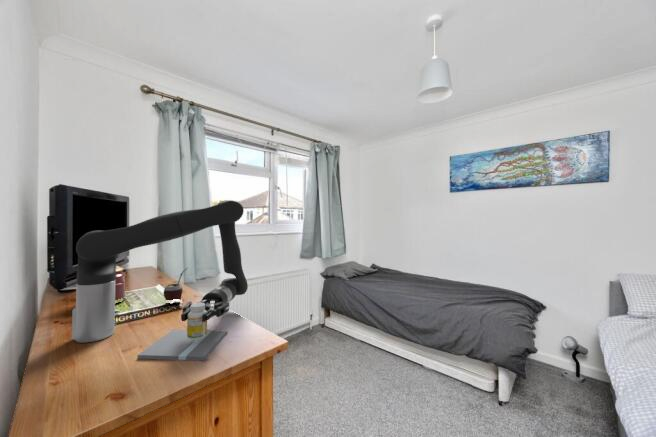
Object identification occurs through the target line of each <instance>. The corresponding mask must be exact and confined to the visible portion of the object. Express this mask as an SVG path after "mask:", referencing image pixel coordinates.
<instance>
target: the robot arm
mask: <svg viewBox="0 0 656 437" xmlns="http://www.w3.org/2000/svg"><path fill="white" fill-rule="evenodd" d="M244 211H245V210H244V207H243V204H241V203H240V202H239V201H237V200H234V199H226V200H225V199H224V200H222V201H219V202H218V204H213V205H212V206H208V207H204V208H197V209H196V208H195V209H188V210H181V211H174V212H171V213H166V214H162V215H158V216H155V217H152V218H148V219H146V220H144V221H142V222H138V223H136V224H133V225H130V226H125V227H119V228H115V229H107V230H98V229H97V230H90V231H88V232H86V233H84V234H83V235H82V236H81V237H80V238H79V239H78V241H77V242H76V245H75V252H76V254H77V272H76V276H75V277H76V278H75V280H76V287H75V290H76V291H75V294H76V295H75V307H74V308H73V309H72V310H71V311H72V312H71V315H72V316H71V322H72V323H71V326H72V327H71V341H75V342H77V343H92V342H97V341H101V340H103V339H106V338H108V337H111V336H113V334H114V333H115V322H116V320H115V314H116V311H115V310H116V305H115V277H116V266H117V264H116V263H117V255H120V254H123V253H125V252H128V251H131V250H134V249H137V248H141V247H145V246H151V245H155V244H160V243H164V242H169V241H172V240H176V239H179V238H182V237H185V236H189V235H191V234H194V233H197V232H200V231H203V230H205V229H208V228H210V227H215V226H218V229H219V234H220V239H221V240H220V241H221V247H222V248H221V249H222V262H223V271H224V273H226V274H228V275H229V274H230V275H233V276H234V277H229V278H225V279H223V280H222V281H221V283H220V285H219V286H218V287H215V288H213V289H212V290H210V291H209V292H207V293H206V294H205V295H204V296H203V297H202V299H201V301H197V302H196V303H205V309H204V310H206V312H205V313H204V314H203V315H202V322H206V321H207V322H208V320H210V319H212V318H214V317H216V318H220V317H221V316H223V315H225V314H226V313H228V312H229V311H230V303H231V301H233V300H234V298H235V297H236V296H242V295H245V294H246V292H247V291H248V285H249V284H248V281H247V278H246V276H245V273H244V270H243V266H242V265H243V264H242V254H241V248H240V245H239V242H238V238H237V234H236V222H238V221H239V220H240V219H241V218H242V217H243V215H244ZM191 304H193V302H192V301H188V302H186V304H185V305H184V306H182V313H180V320H181V322H185V321H188V313H189V312H190V311H191V310H190V306H191Z"/></svg>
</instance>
